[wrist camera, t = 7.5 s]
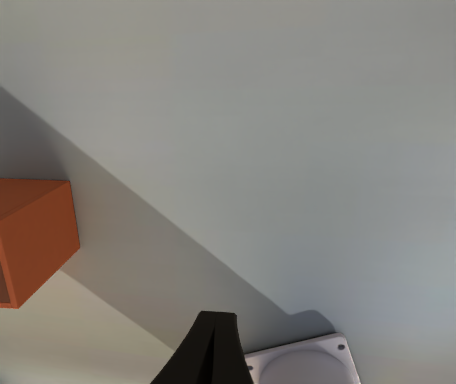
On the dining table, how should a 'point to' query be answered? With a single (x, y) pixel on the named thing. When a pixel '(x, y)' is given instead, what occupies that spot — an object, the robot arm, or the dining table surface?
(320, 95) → the dining table surface
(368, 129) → the dining table surface
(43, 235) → the orange open-ended box
